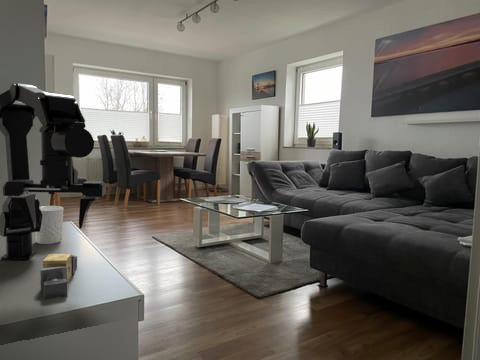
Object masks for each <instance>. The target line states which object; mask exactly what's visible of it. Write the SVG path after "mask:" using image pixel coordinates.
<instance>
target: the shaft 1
mask: <svg viewBox="0 0 480 360" xmlns="http://www.w3.org/2000/svg"><path fill="white" fill-rule="evenodd" d="M39 271H40V273H39V275H40V276H39V277H40V278H39V279H40V282H39V284H40V292H43V300H50V299H54V298H55V299H56V298H61V297H62V298H63V297H68V283H67V266H59V267H51V268H43V267H42V268H40V270H39Z"/></svg>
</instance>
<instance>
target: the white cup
mask: <svg viewBox="0 0 480 360" xmlns="http://www.w3.org/2000/svg"><path fill="white" fill-rule="evenodd" d="M40 210H41V212H42V214H43V216H42V223H41V229H40V232H34V234H35V242H36V244H39V245H53V244H57V243H60V242H62V238H63V225H64V210H65V209H64V207H63V206H60V205H59V206H58V205H44V206H43V205H42V206H40Z"/></svg>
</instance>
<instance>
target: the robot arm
mask: <svg viewBox="0 0 480 360" xmlns="http://www.w3.org/2000/svg"><path fill="white" fill-rule="evenodd" d="M36 118H37V119H38V121H39V123H40V124H41V125H42V126H40V128H39V133H41V134H40V135H41V136H40V137H41V141H40V142H41V159H40V160H39V163H40V164H39V166H41V180H40V181H39V183H35V182H34V180H33V179H30V166H29V150H28V135H29V132H30V131H31V129H32V128H33V126H34V120H35V119H36ZM85 122H86V119H85V117H84V116H83V114H82V111H81V109H80V106H79V104H78V102H77V100H76V99H75V97H74V96H73V95H65V94H59V93H52V92H51V93H50V92H47V91H44V90H42V89H40V88H38V87H37V86H34V85H32V84H27V83H26V84H25V83H18V82H15V83H12V84H11V85H10V87H9V89H7V90H6V91H4V92H2V93H1V94H0V132H1V134H2V135H3V136H4V138H5V139H4V140H5V153H6V154H5V155H6V157H5V158H6V166H7V181H6V182H5V183H4V184H3V185H2V197H6V198H5V200H4V202H3V204H2V211H1V212H0V236H1V237H4V238H5V251H6V252H5V254H3V255H2V256H1V257H0V261H1V260H6V261H7V260H10V261H11V260H30V259H31V258H32V257H33V256H34V255H35V254H36V253H37V252H38V250H37V249H33V233H35V232H40V229H41V223H42V216H43V214H42V212H41V210H40V207H41V206H40V200H39V199H38V198H36V193H67V194H68V193H70V194H71V193H73V194H78V193H79V194H82V195H83V196H82V197H81V198H79V199H80V202H79V211H78V213H79V214H78V228H79V229H83V227H84V224H85V220H86V218H87V215H88V212H89V209H90V207H91V205H92V203H93V202H96V201H97V200H98V199H99V198H101V197H104V195H106V194H107V184H106V183H105V182H104V180H86V181H84V182H82V183H80V184H79V183H78V177H79V171H78V170H77V169H76V168H75V165H74V159H73V158H76V159H77V158H80V159H81V158H85V157H87V156H89V155H90V154H91V153H92V152H93V150H94V148H95V140H94V138H93V137H94V136H93V135H92V134H91V132H90V131H89V130H87V129H86V123H85ZM52 186H53V187H52Z"/></svg>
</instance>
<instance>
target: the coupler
mask: <svg viewBox="0 0 480 360" xmlns="http://www.w3.org/2000/svg"><path fill="white" fill-rule="evenodd" d="M72 255H73V253H49V254H48V255H47V256H46V257H45V258H44V259H42V269H43V268H51V267H59V266H67V284H69V282H70V280H71V278H72V276H73V275H72Z"/></svg>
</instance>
